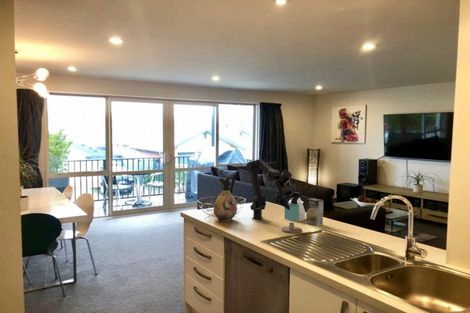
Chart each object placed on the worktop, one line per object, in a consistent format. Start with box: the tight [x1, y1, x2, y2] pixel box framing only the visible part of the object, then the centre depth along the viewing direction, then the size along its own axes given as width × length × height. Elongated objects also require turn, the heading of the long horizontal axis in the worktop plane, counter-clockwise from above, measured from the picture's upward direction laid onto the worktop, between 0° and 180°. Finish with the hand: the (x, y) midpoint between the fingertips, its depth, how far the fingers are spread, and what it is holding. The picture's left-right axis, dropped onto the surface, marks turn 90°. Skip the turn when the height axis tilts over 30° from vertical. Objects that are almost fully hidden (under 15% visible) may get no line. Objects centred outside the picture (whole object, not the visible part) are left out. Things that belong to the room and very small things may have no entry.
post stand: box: [281, 222, 303, 234], centre depth 206 cm, size 12×12×4 cm
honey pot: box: [288, 196, 306, 222], centre depth 237 cm, size 13×13×18 cm
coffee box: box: [305, 197, 324, 227], centre depth 222 cm, size 9×6×16 cm
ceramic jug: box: [213, 175, 238, 223], centre depth 229 cm, size 17×15×30 cm
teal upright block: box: [284, 203, 299, 222], centre depth 206 cm, size 6×6×9 cm
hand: (293, 209), depth 204 cm, fingers closed on teal upright block, 6 cm apart
